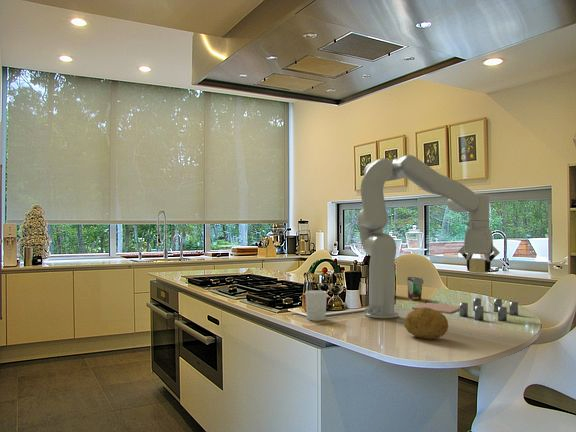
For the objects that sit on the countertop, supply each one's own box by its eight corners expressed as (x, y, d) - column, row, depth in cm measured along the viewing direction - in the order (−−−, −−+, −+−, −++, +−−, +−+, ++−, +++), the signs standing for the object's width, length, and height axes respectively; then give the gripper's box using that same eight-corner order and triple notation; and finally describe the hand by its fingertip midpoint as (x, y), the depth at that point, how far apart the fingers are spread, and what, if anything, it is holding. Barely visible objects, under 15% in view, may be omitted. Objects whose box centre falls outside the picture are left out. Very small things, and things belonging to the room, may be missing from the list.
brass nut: (483, 273, 183) (483, 260, 183) (467, 272, 187) (467, 259, 187) (489, 272, 188) (489, 259, 188) (473, 271, 192) (474, 258, 192)
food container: (426, 301, 219) (426, 279, 219) (413, 301, 219) (413, 279, 219) (419, 297, 231) (420, 276, 232) (407, 297, 231) (407, 276, 232)
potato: (415, 303, 154) (400, 304, 147) (455, 311, 144) (441, 311, 138) (412, 333, 153) (397, 334, 146) (452, 342, 144) (438, 344, 137)
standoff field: (502, 323, 169) (502, 309, 169) (454, 317, 179) (454, 304, 179) (521, 313, 189) (521, 300, 190) (477, 308, 200) (477, 296, 200)
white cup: (329, 318, 176) (329, 291, 176) (322, 322, 169) (322, 293, 169) (310, 316, 179) (310, 289, 179) (301, 320, 172) (302, 292, 172)
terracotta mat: (450, 313, 188) (450, 312, 188) (412, 308, 198) (412, 307, 198) (464, 308, 200) (464, 307, 200) (427, 304, 210) (427, 302, 210)
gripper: (453, 224, 191) (453, 269, 190) (498, 225, 179) (498, 273, 179) (460, 225, 196) (460, 268, 196) (504, 225, 185) (504, 272, 185)
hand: (478, 270), depth 187 cm, fingers closed on brass nut, 6 cm apart
